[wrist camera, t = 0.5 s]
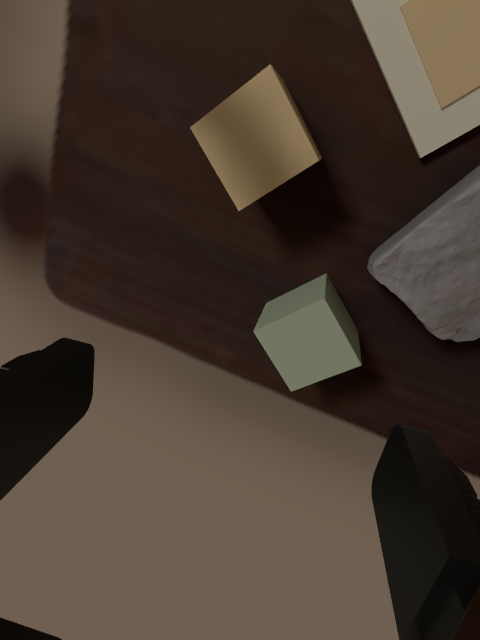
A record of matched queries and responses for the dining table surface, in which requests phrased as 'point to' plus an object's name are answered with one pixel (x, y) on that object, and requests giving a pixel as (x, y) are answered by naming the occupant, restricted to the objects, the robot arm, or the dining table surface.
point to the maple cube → (256, 138)
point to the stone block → (438, 263)
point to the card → (428, 64)
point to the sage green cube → (309, 334)
